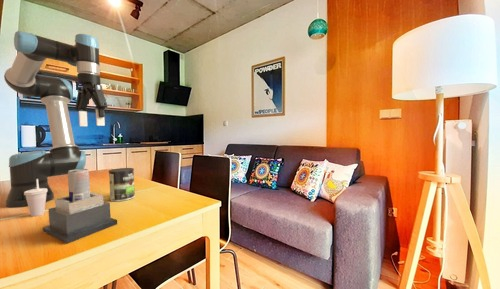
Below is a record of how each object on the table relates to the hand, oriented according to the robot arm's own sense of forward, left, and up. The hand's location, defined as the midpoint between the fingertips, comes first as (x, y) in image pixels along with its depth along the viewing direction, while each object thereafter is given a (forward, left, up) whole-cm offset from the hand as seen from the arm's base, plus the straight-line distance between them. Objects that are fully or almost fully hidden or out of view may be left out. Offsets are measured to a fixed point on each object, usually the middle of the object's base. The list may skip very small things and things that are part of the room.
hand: (91, 126), depth 86 cm
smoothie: (-11, -15, -35) cm, 40 cm away
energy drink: (+18, -13, -27) cm, 35 cm away
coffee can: (-1, +12, -35) cm, 37 cm away
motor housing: (+18, -13, -35) cm, 41 cm away
